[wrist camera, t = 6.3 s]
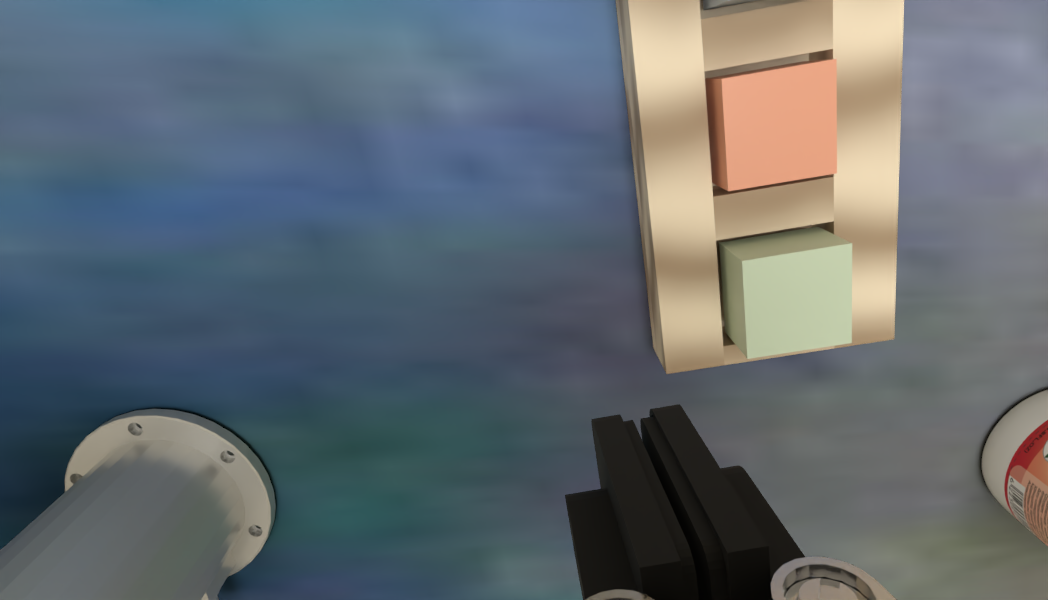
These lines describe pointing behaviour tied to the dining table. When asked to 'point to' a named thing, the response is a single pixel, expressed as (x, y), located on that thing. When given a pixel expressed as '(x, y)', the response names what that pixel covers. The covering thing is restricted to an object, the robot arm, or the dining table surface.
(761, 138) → the terracotta button
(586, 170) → the dining table surface
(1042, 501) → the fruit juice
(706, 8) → the slate button
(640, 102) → the button panel
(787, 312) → the sage button
